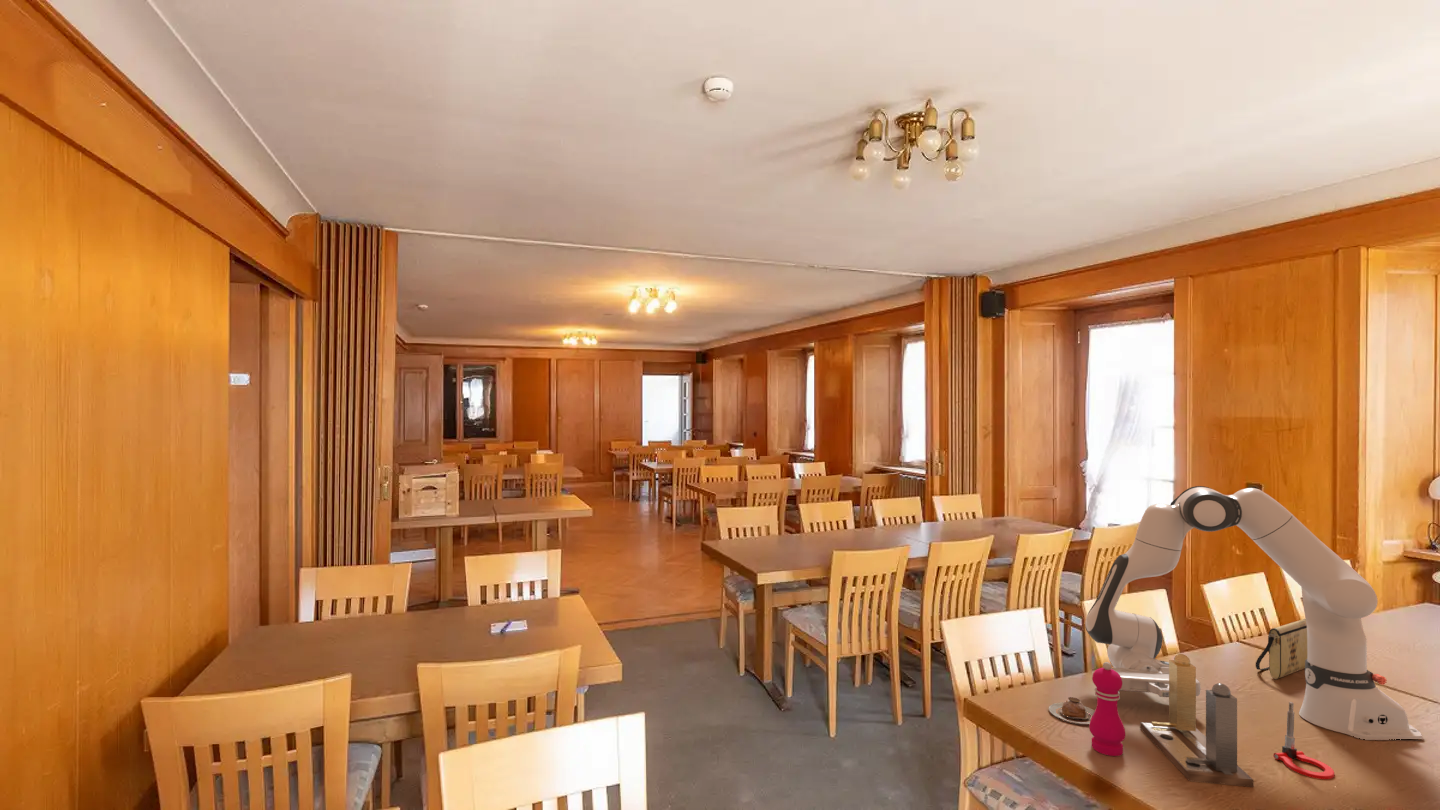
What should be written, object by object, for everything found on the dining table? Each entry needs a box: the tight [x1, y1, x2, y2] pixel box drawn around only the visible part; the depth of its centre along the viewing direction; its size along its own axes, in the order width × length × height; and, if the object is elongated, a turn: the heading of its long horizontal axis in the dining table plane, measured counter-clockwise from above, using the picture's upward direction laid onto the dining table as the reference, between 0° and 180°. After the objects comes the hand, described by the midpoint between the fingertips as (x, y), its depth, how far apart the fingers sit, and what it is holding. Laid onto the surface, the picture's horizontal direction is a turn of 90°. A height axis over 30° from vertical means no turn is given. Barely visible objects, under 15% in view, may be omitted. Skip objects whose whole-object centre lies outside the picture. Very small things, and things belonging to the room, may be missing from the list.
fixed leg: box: [1186, 682, 1238, 773], centre depth 145 cm, size 8×4×18 cm, turn 79°
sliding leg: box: [1150, 653, 1197, 731], centre depth 161 cm, size 8×4×17 cm, turn 79°
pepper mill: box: [1088, 661, 1126, 757], centre depth 155 cm, size 7×7×20 cm
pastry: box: [1048, 696, 1095, 726], centre depth 172 cm, size 12×12×5 cm
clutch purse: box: [1255, 618, 1307, 680], centre depth 204 cm, size 30×7×15 cm, turn 118°
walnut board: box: [1139, 721, 1255, 788], centre depth 152 cm, size 12×24×2 cm, turn 169°
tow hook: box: [1273, 701, 1335, 780], centre depth 147 cm, size 8×13×9 cm
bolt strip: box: [1142, 722, 1233, 775], centre depth 153 cm, size 9×22×1 cm, turn 169°
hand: (1167, 694), depth 169 cm, fingers closed
